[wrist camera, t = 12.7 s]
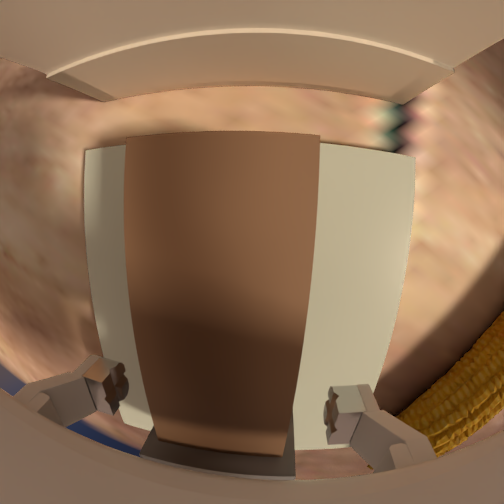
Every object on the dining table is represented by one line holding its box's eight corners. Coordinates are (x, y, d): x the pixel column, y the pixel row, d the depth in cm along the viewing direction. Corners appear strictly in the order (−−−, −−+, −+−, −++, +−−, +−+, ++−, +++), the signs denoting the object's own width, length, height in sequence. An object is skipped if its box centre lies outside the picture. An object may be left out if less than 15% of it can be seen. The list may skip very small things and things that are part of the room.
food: (539, 228, 11) (592, 243, 5) (550, 277, 12) (593, 298, 6) (346, 429, 15) (361, 495, 10) (380, 452, 16) (397, 505, 10)
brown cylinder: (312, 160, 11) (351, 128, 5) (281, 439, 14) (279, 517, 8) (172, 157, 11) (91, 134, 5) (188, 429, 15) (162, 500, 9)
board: (404, 159, 12) (415, 157, 10) (347, 435, 15) (350, 447, 14) (98, 152, 13) (85, 150, 11) (130, 413, 16) (124, 423, 15)
